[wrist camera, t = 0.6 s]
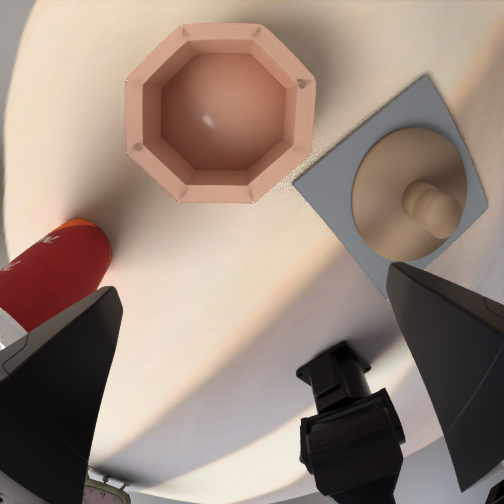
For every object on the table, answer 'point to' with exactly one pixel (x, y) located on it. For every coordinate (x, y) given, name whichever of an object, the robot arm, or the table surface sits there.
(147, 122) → the bowl
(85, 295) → the paper cup
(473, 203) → the mat
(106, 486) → the tabletop clock
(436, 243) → the lid
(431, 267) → the table surface
